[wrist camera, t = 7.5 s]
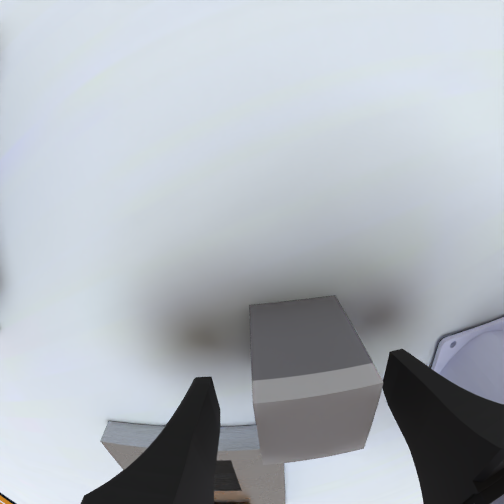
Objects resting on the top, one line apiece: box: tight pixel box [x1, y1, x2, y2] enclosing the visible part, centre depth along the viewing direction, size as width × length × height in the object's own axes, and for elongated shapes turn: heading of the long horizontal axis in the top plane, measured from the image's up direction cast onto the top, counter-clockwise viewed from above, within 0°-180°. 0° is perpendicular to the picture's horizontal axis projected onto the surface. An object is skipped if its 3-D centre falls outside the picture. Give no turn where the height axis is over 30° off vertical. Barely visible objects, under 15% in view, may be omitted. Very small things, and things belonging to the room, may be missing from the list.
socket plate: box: [101, 421, 285, 504], centre depth 18 cm, size 12×16×2 cm
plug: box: [250, 295, 384, 465], centre depth 11 cm, size 4×4×6 cm
